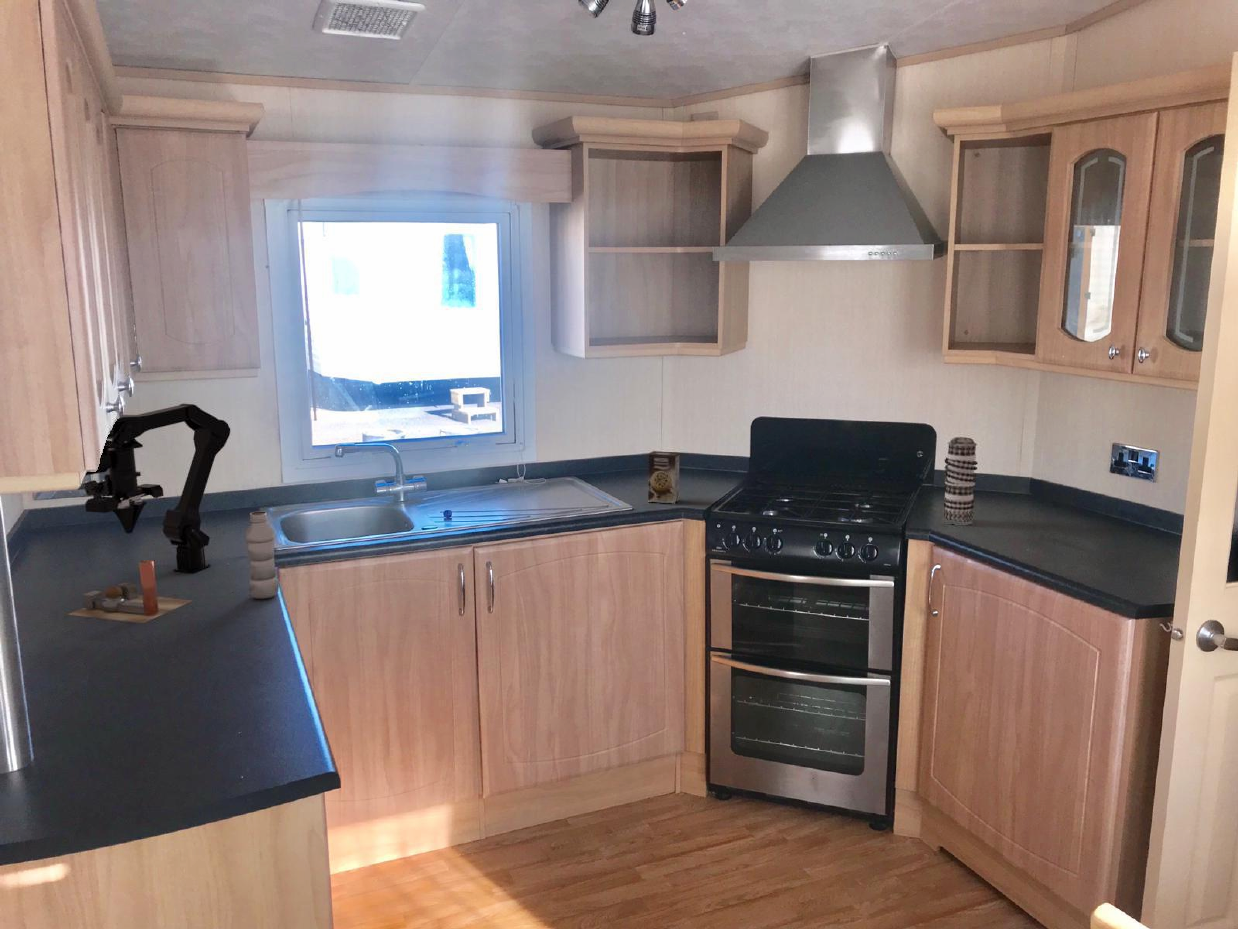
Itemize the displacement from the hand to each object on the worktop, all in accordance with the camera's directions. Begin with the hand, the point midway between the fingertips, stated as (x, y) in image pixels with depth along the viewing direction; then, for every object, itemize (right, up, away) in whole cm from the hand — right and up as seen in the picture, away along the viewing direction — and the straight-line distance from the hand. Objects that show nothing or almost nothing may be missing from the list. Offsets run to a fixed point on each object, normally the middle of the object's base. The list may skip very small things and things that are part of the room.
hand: (129, 533), depth 234 cm
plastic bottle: (+35, -15, -7) cm, 38 cm away
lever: (+8, -15, -19) cm, 26 cm away
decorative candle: (+216, -1, +56) cm, 223 cm away
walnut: (+3, -15, -13) cm, 20 cm away
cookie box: (+131, +4, +84) cm, 156 cm away
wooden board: (+9, -16, -16) cm, 25 cm away
